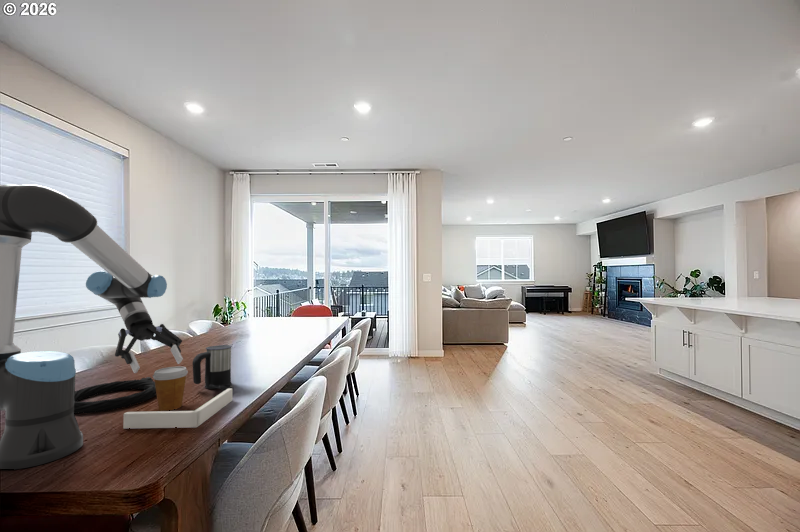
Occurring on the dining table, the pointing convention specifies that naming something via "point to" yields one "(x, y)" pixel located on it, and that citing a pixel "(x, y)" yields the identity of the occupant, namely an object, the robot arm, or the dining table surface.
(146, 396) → the cable lock
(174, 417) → the bracket
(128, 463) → the dining table surface
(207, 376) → the milk frother
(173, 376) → the disposable coffee cup
